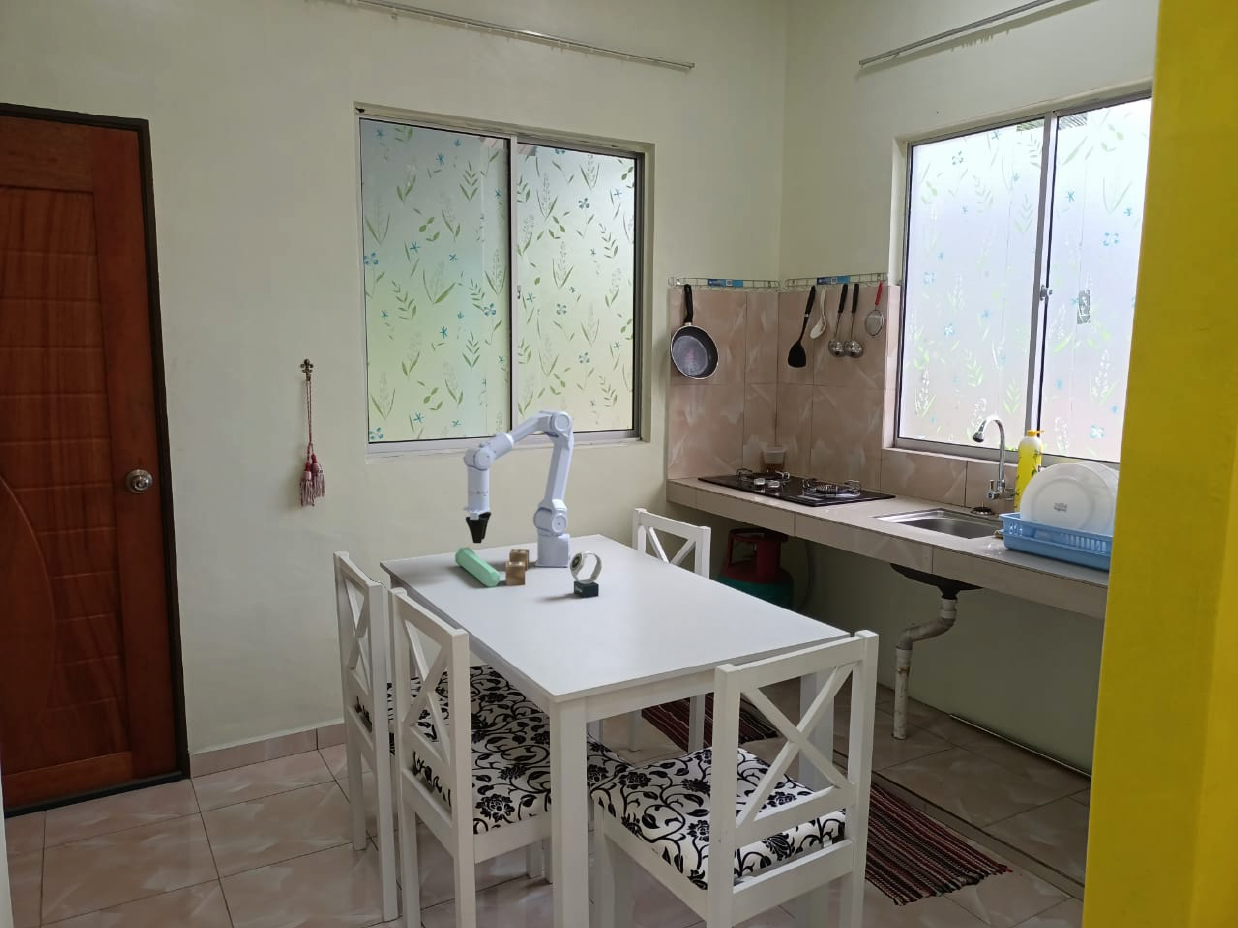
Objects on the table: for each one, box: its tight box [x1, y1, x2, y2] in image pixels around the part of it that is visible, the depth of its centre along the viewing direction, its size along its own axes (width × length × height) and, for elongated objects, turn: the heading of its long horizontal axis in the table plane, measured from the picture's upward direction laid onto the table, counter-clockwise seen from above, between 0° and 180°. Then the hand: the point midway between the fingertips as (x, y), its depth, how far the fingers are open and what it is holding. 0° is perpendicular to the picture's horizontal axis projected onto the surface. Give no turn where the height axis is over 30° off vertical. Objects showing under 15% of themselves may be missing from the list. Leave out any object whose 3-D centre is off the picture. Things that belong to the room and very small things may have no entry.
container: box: [454, 546, 501, 588], centre depth 246 cm, size 6×6×25 cm
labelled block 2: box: [504, 561, 526, 586], centre depth 240 cm, size 5×5×5 cm
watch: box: [569, 550, 603, 599], centre depth 229 cm, size 6×8×11 cm
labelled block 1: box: [508, 548, 530, 572], centre depth 254 cm, size 5×5×5 cm
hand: (478, 541), depth 246 cm, fingers open, 4 cm apart
